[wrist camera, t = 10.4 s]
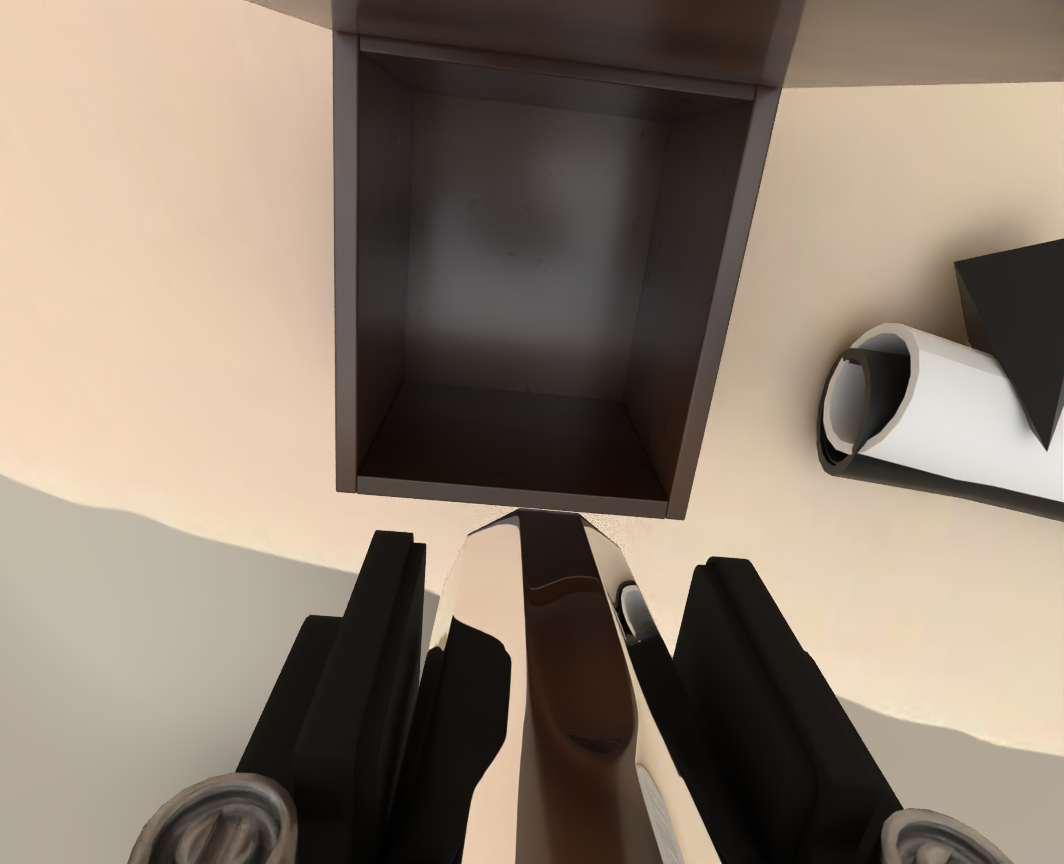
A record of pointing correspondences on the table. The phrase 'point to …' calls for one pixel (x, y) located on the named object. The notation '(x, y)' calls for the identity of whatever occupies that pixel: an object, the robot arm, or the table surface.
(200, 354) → the table surface
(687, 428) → the chest
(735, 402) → the table surface
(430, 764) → the milkshake
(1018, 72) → the lid
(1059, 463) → the curved black white bar
